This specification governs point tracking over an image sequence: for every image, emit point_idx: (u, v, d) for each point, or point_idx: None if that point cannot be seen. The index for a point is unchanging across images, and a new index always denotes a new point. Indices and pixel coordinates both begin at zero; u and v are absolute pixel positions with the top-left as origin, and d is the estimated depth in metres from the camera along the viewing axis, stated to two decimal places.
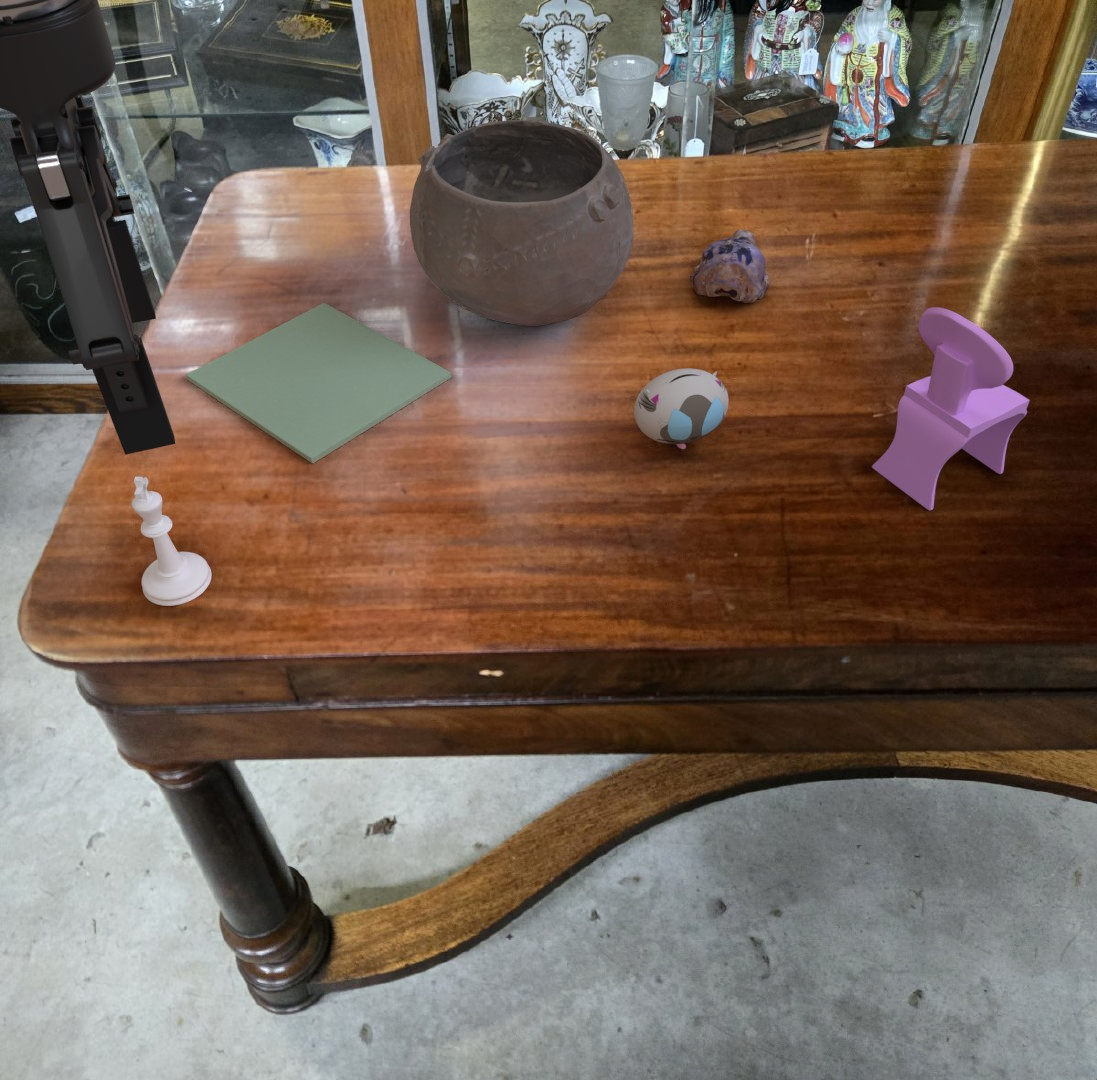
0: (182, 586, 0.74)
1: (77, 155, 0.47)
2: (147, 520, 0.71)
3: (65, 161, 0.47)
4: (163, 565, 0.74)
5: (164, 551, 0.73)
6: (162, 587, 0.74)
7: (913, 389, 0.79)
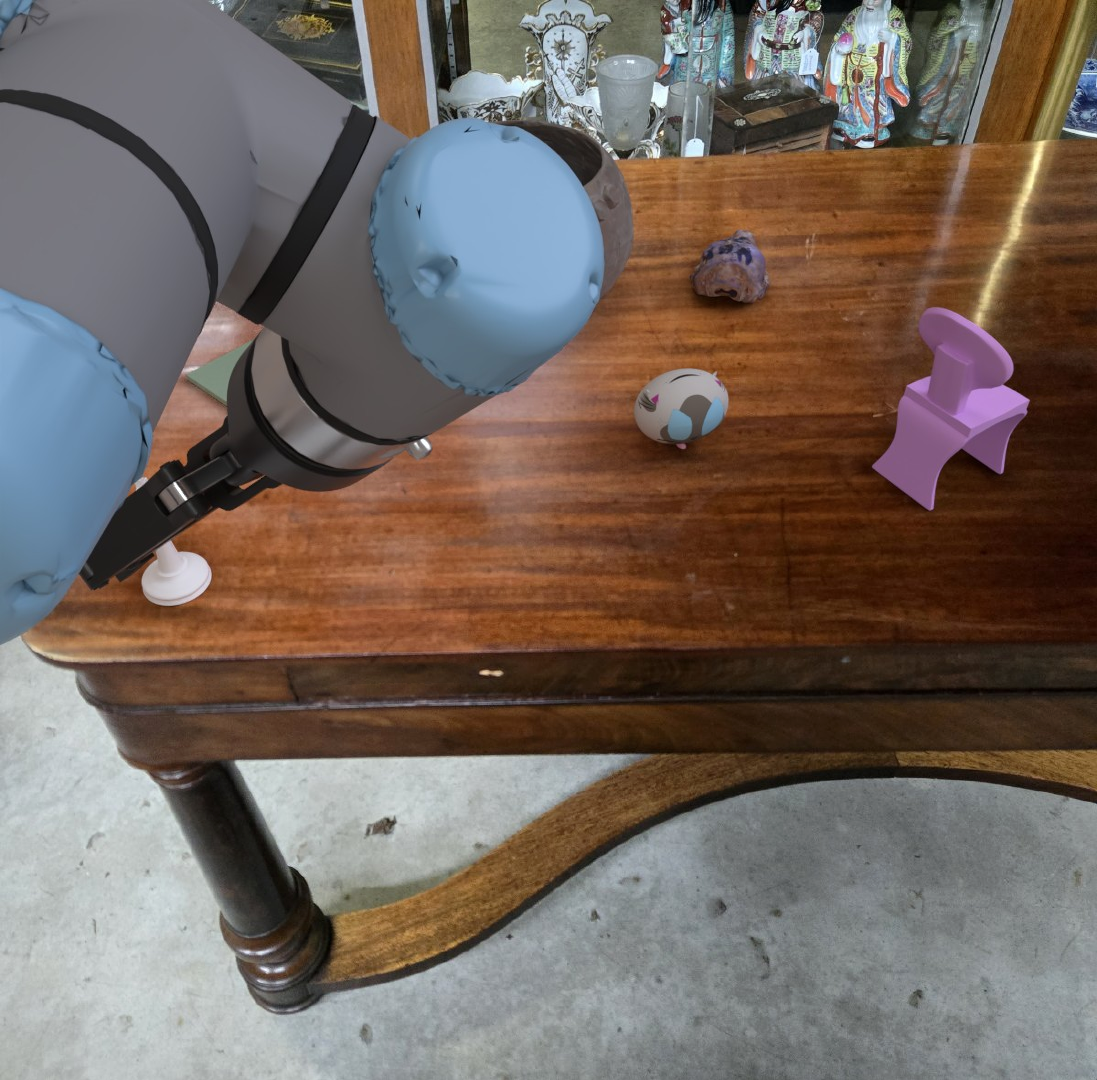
0: (182, 586, 0.74)
1: (201, 513, 0.44)
2: None
3: (184, 509, 0.44)
4: (163, 565, 0.74)
5: (164, 551, 0.73)
6: (162, 587, 0.74)
7: (913, 389, 0.79)
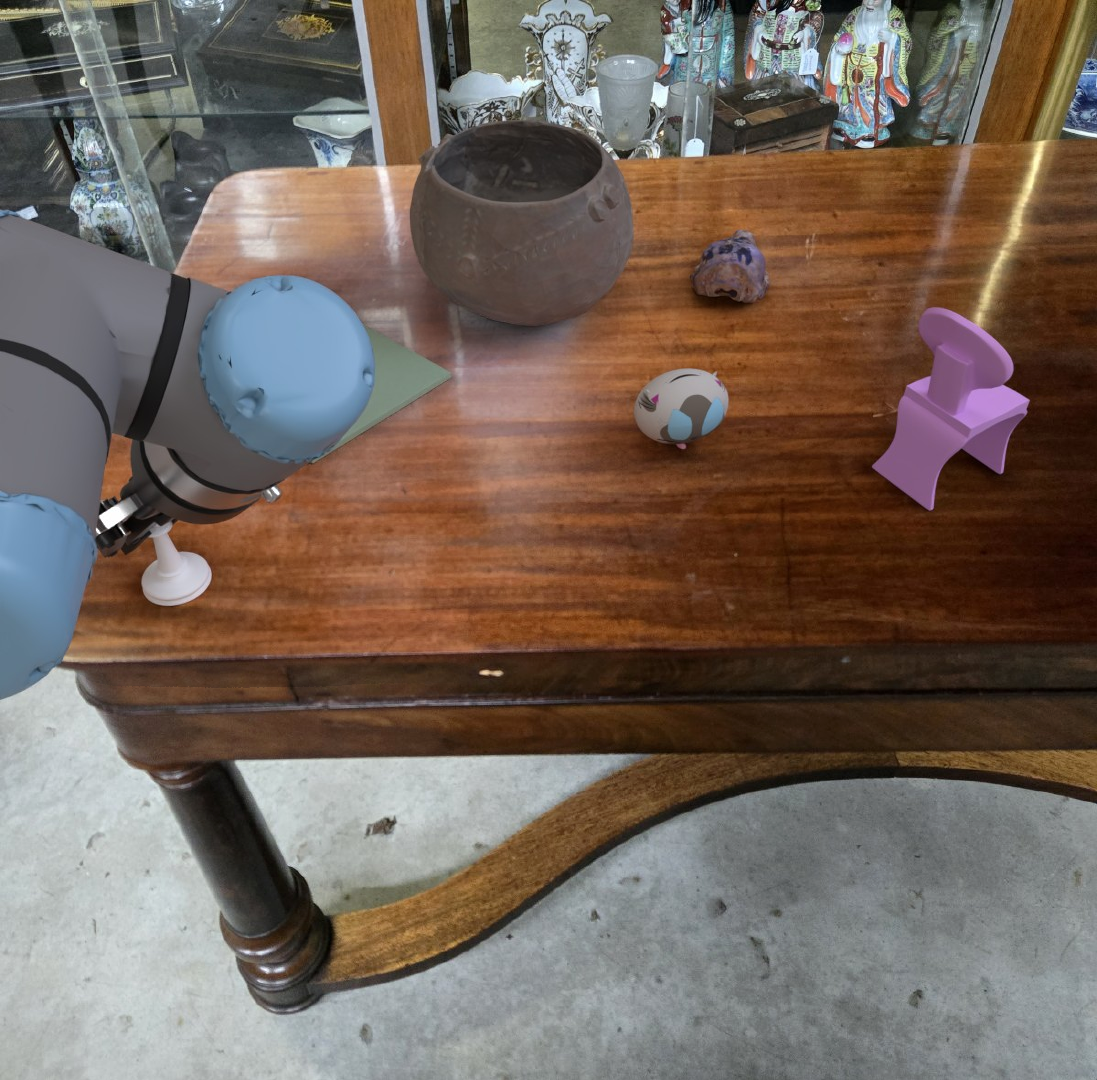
0: (182, 586, 0.74)
1: (109, 545, 0.59)
2: None
3: (96, 542, 0.59)
4: (163, 565, 0.74)
5: (164, 551, 0.73)
6: (162, 587, 0.74)
7: (913, 389, 0.79)
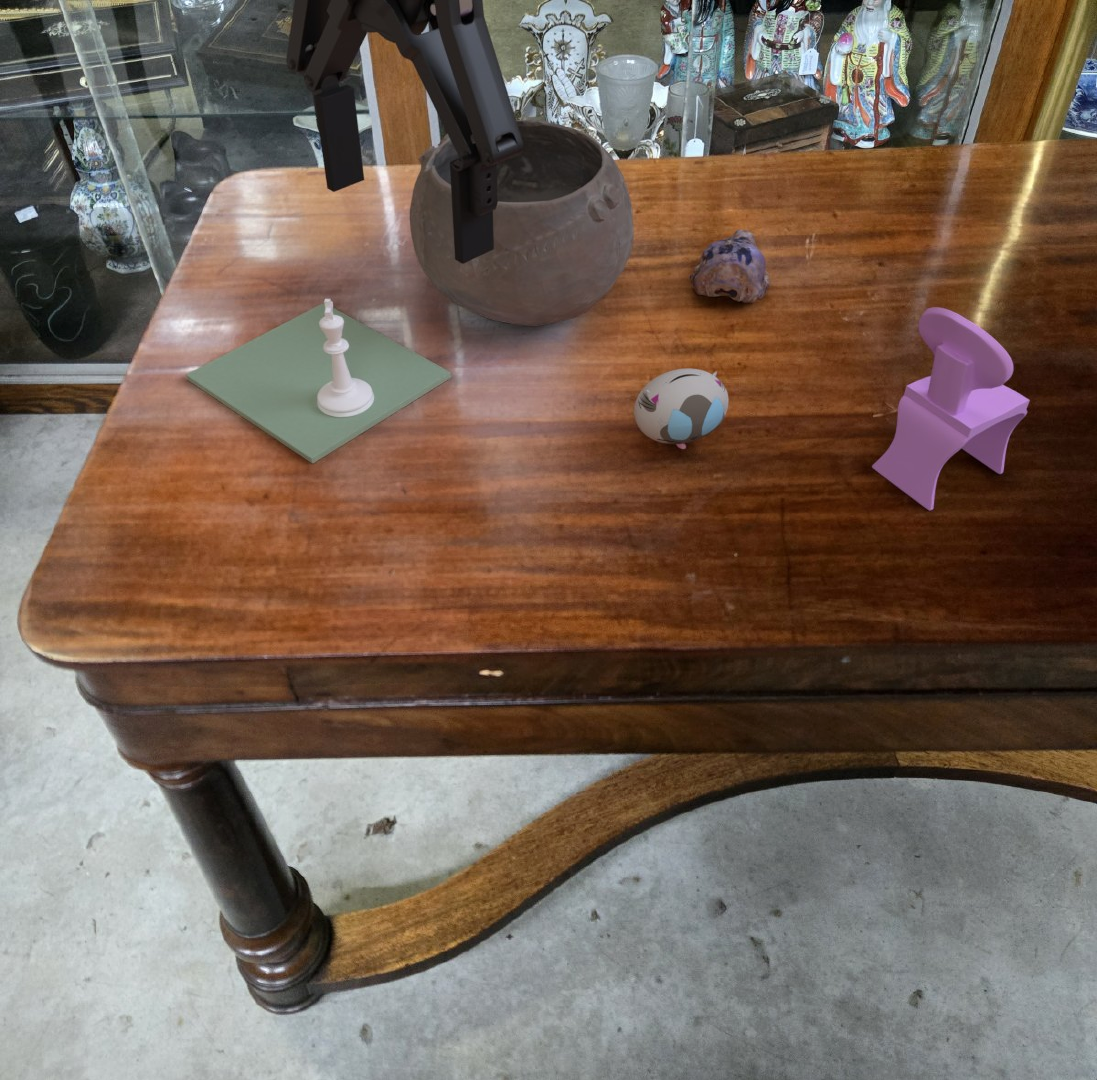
0: (353, 401, 0.89)
1: None
2: (331, 338, 0.85)
3: None
4: (338, 382, 0.88)
5: (340, 368, 0.88)
6: (336, 401, 0.89)
7: (913, 389, 0.79)
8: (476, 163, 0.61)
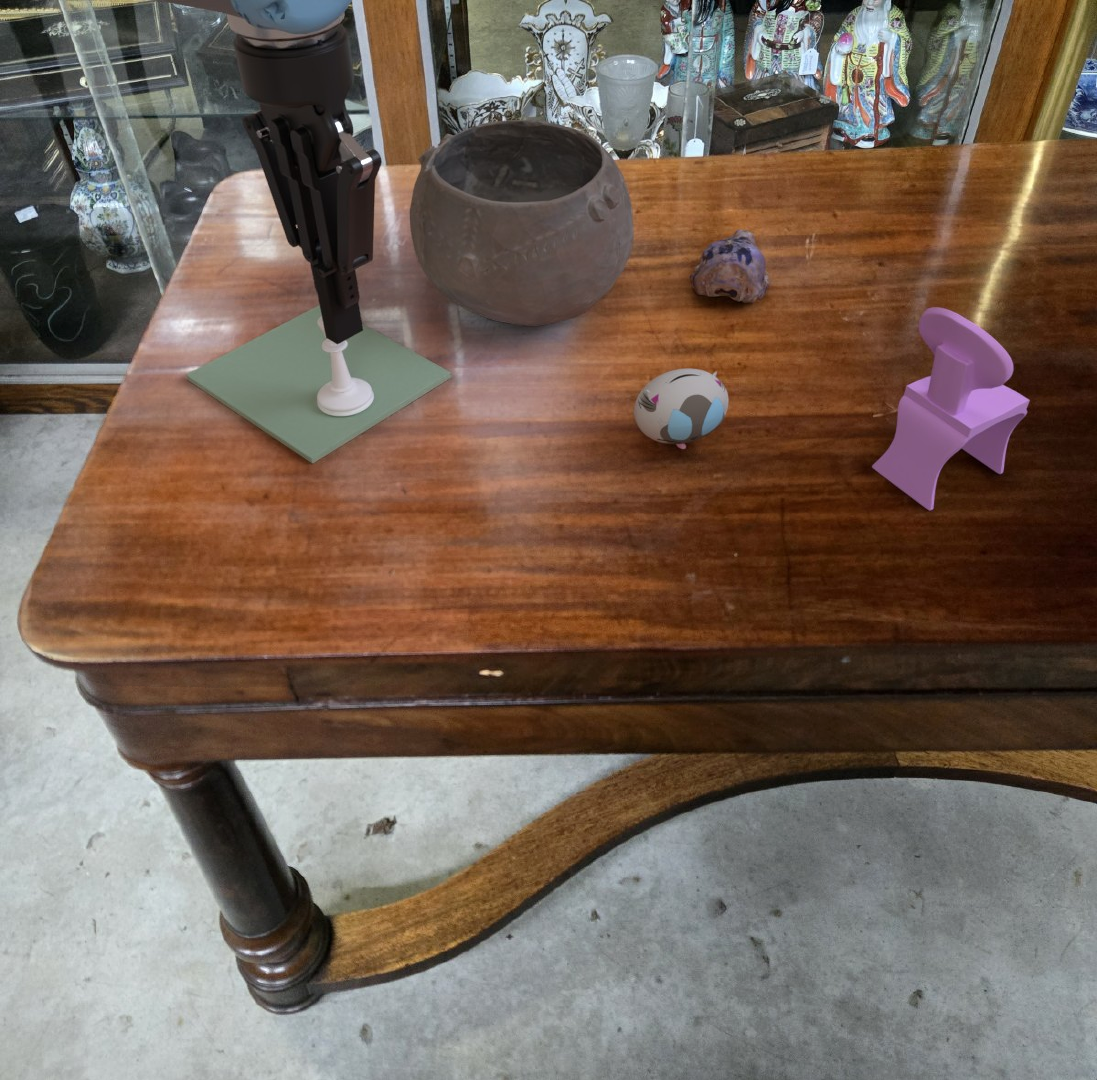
0: (353, 399, 0.89)
1: None
2: None
3: (376, 163, 0.71)
4: (338, 381, 0.88)
5: (339, 367, 0.88)
6: (336, 400, 0.89)
7: (913, 389, 0.79)
8: None
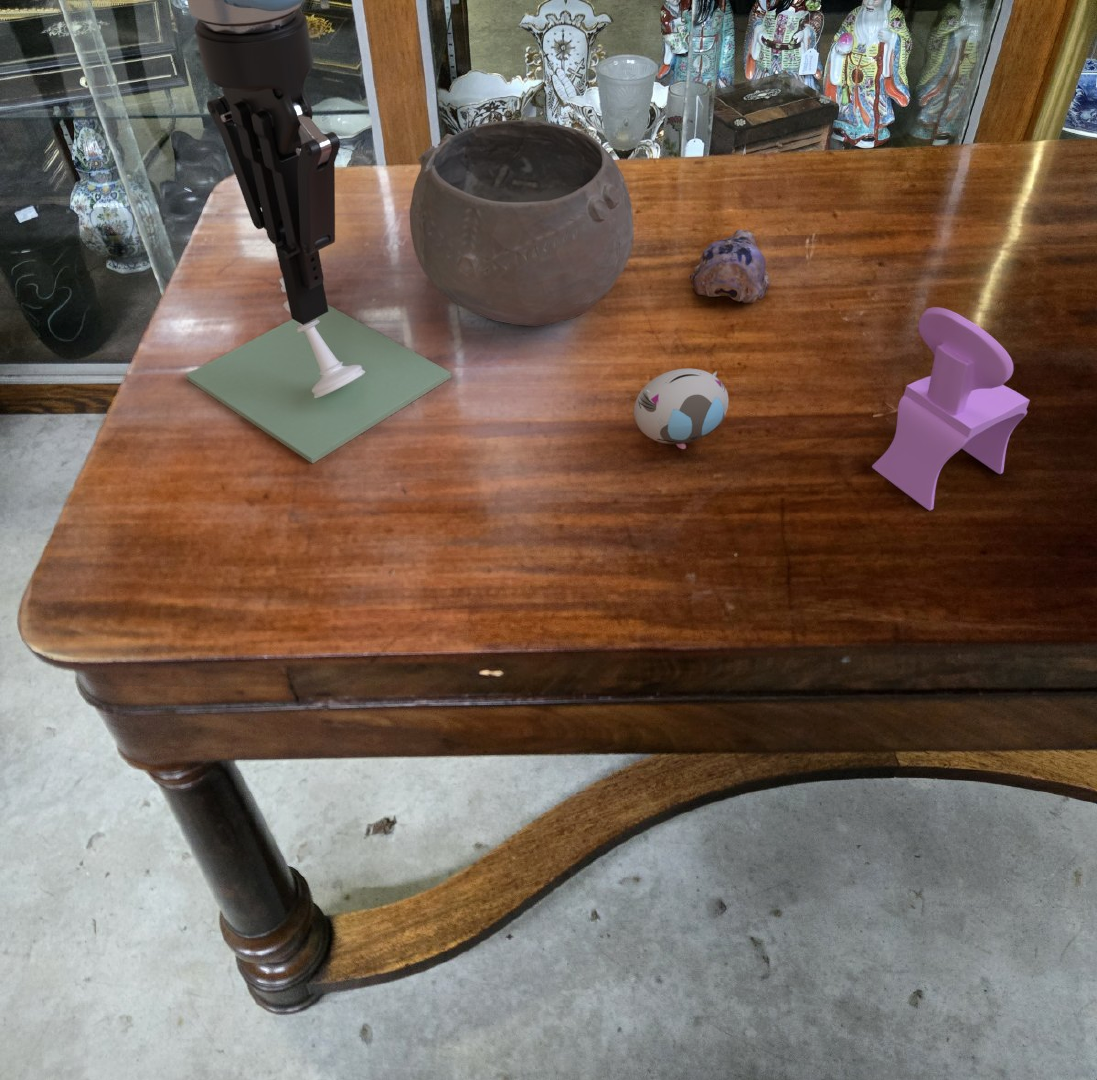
0: (339, 373, 0.88)
1: None
2: None
3: (334, 146, 0.73)
4: (322, 362, 0.89)
5: (319, 346, 0.88)
6: (324, 380, 0.88)
7: (913, 389, 0.79)
8: (298, 252, 0.81)
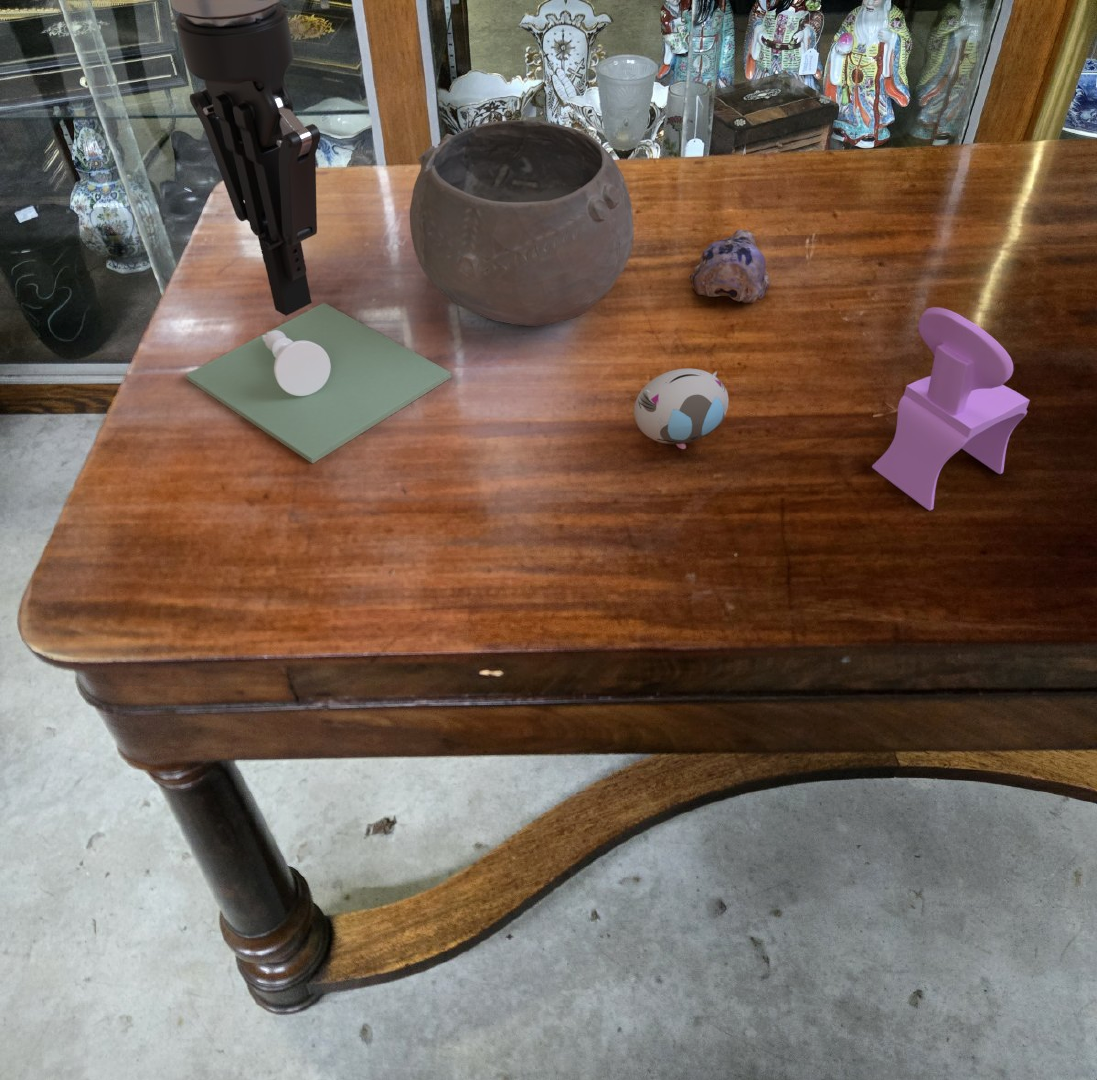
0: None
1: None
2: None
3: (314, 138, 0.74)
4: None
5: None
6: None
7: (913, 389, 0.79)
8: None
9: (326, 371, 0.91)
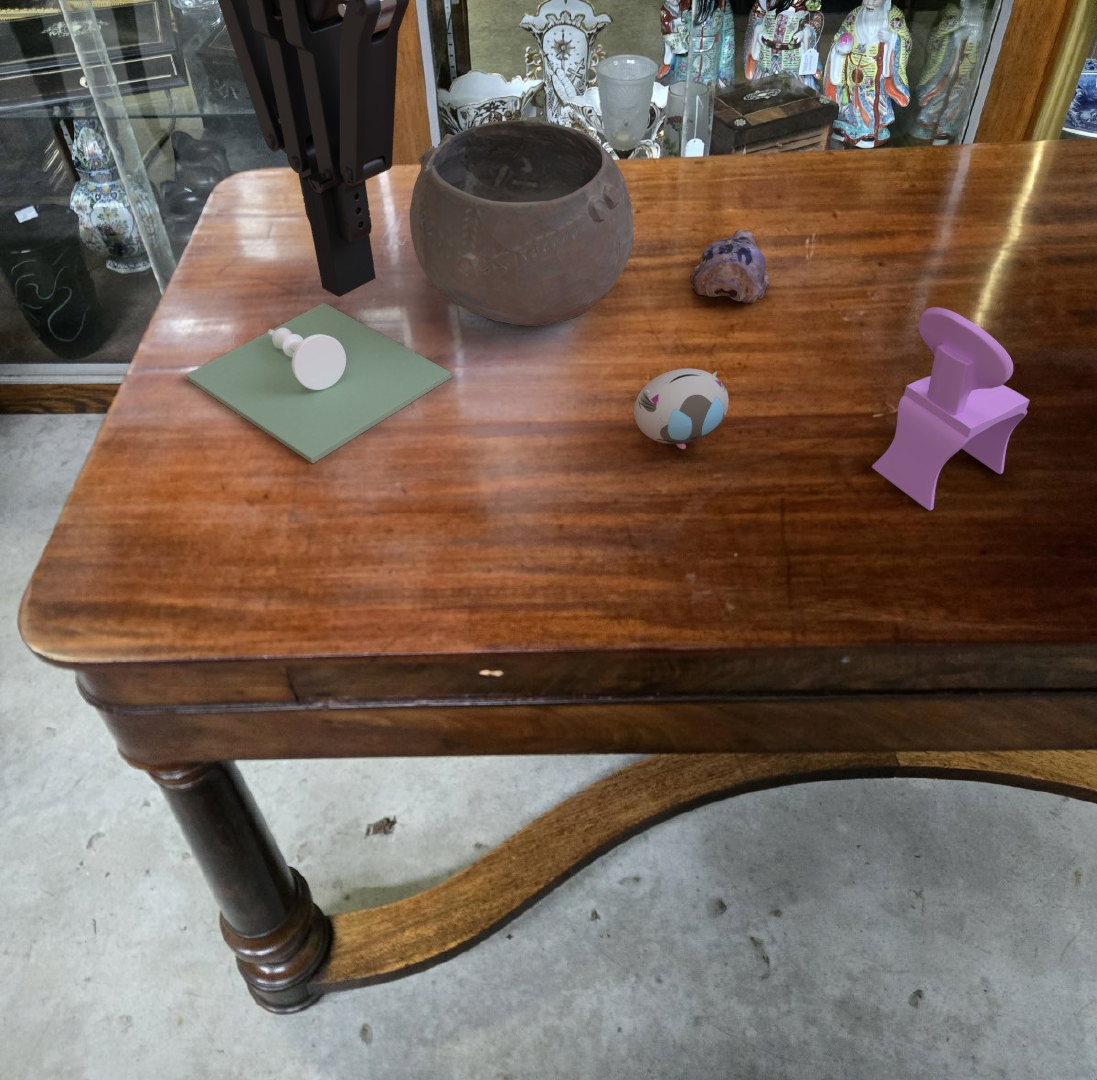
0: None
1: None
2: (281, 340, 0.95)
3: (400, 0, 0.45)
4: None
5: None
6: None
7: (913, 389, 0.79)
8: None
9: (335, 377, 0.92)
